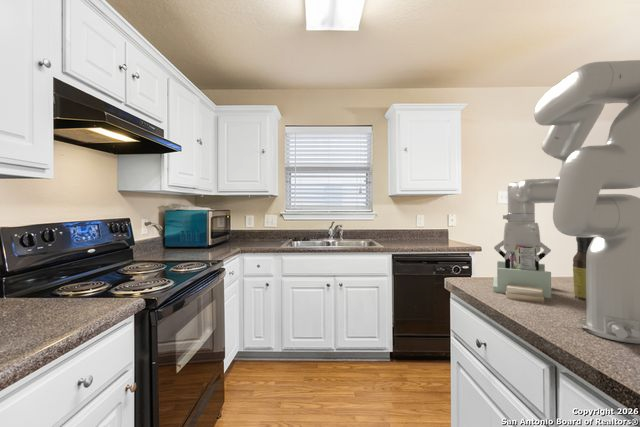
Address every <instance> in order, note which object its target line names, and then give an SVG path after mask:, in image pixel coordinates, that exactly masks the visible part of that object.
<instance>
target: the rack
mask: <svg viewBox="0 0 640 427" xmlns="http://www.w3.org/2000/svg"><path fill="white" fill-rule="evenodd" d="M496 261H497V264H496V265H497V266H496V267H497V268H496V269H497V270H496V271H497V273H496V275H497V276H493V283H492V284H493V285H492V287H493V288H492V291H493V293H502V294H506V289H507V285H508V284H514V285H522V286H531V287H539V288H543V295H544V299H545V298H547V299H552V272H551V271H546V266H545V263H539V271H537V270H536V271H534V270H521V269H508V268H505V260H504V261H503V260H496Z"/></svg>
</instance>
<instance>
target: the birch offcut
mask: <svg viewBox="0 0 640 427" xmlns="http://www.w3.org/2000/svg"><path fill="white" fill-rule="evenodd" d="M505 298H506V299H511V300H520V301H527V302H528V301H529V302H536V303H545V297H544V295H543V297H542V298H541V297H534V296H526V295H519V294H512V293H507V289H506V293H505Z"/></svg>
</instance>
